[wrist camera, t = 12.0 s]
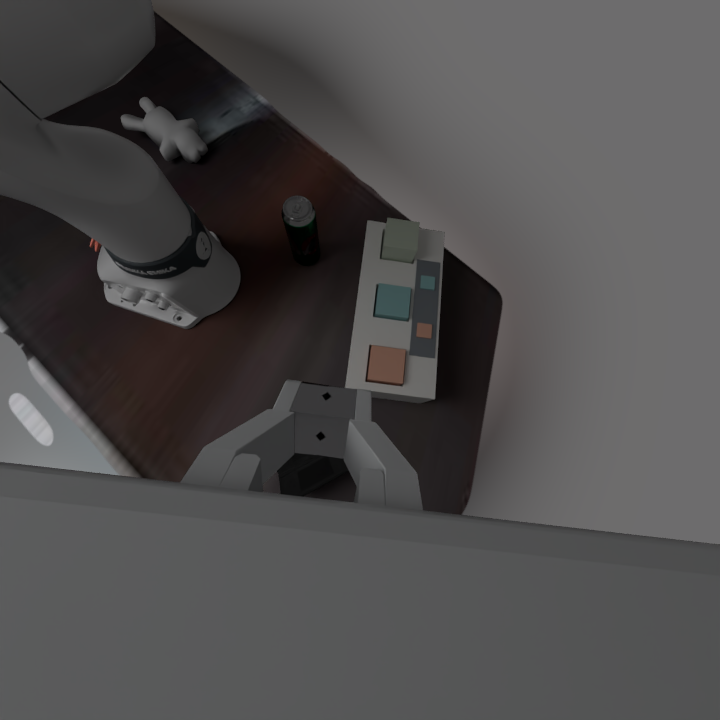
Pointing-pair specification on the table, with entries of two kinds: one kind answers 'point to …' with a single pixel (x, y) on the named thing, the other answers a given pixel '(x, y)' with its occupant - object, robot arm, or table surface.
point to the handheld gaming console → (308, 473)
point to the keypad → (407, 335)
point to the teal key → (392, 302)
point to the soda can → (301, 229)
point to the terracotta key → (385, 365)
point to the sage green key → (400, 240)
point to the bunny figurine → (168, 132)
